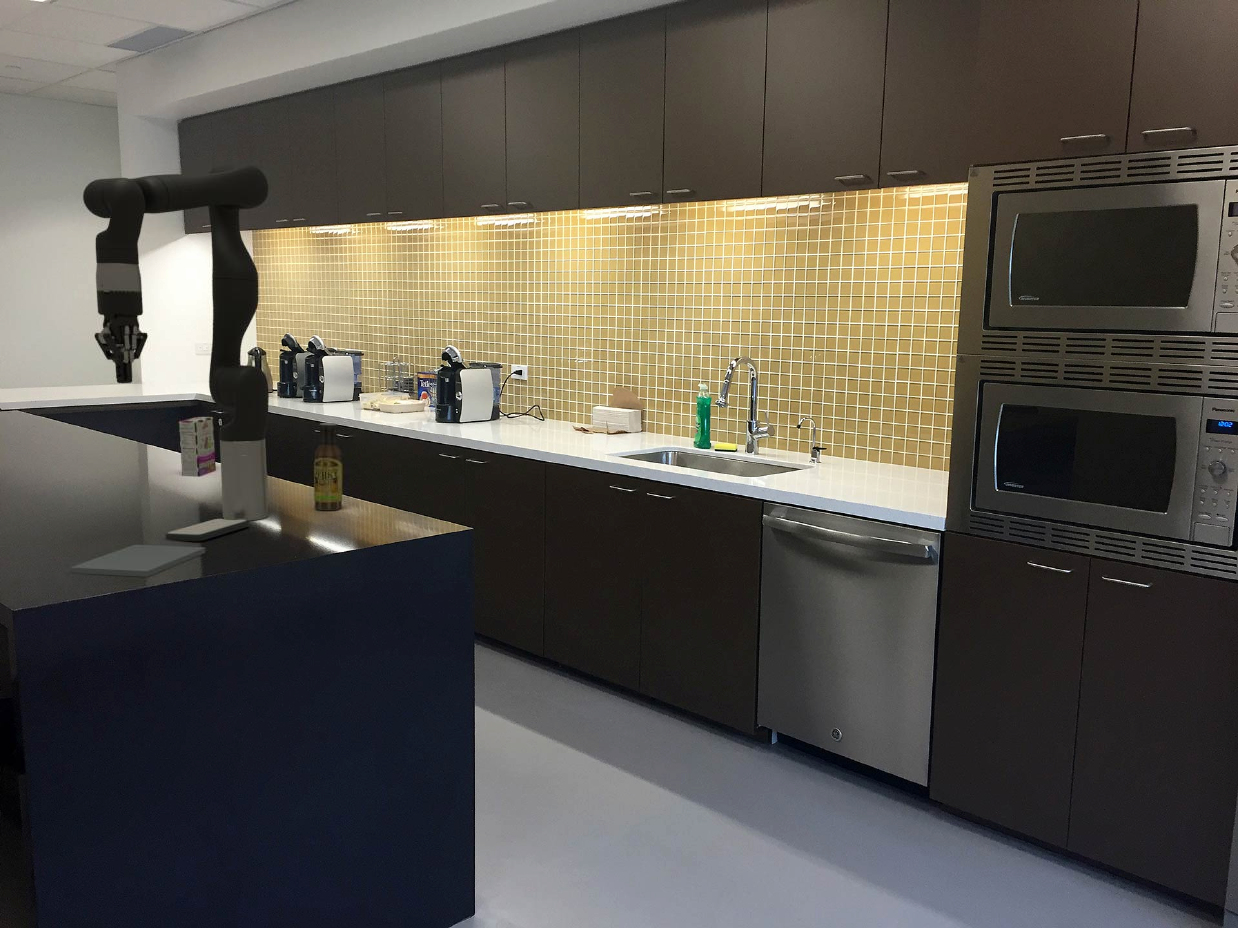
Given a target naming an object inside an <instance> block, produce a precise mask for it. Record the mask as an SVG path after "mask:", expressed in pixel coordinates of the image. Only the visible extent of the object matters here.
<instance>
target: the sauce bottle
mask: <svg viewBox="0 0 1238 928" xmlns="http://www.w3.org/2000/svg"><path fill="white" fill-rule="evenodd" d="M338 425H339V424H338V423H336V422H323V423H322V422H321V423H319V425H318V426H319V427H318V428H319V429H318V430H319V445H318V446H317V448H316V450H315V451H314V463H313V471H314V472H313V473H314V474H313V475H314V476H313V477H314V481H313V486H314V487H313V491H314V493H313V500H314V508H315V509H316V510H317V511H318V510H320V511H338V510H341V509H342V506H343V505H342V501H343V462H342V461H343V458H342V457H343V453H342V451H341V449H340V447H339V445H338V438H337V437H338V429H339V427H338Z"/></svg>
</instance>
